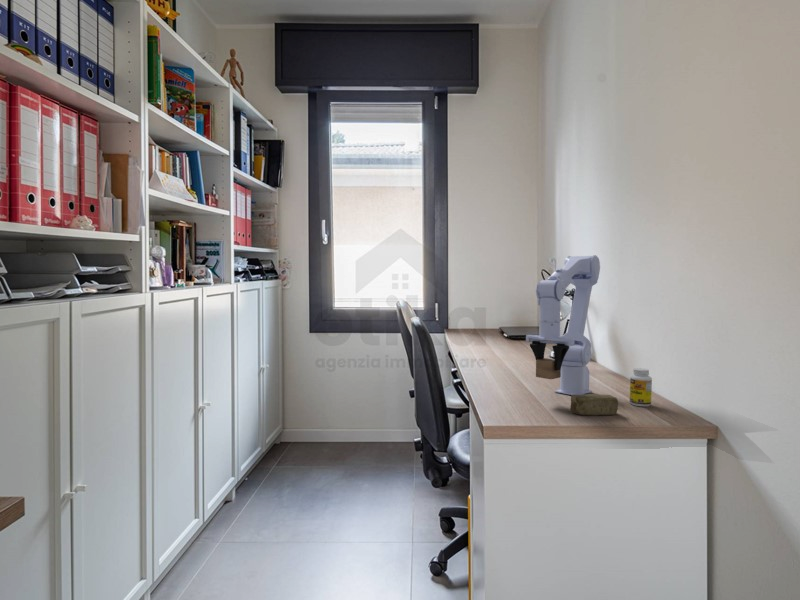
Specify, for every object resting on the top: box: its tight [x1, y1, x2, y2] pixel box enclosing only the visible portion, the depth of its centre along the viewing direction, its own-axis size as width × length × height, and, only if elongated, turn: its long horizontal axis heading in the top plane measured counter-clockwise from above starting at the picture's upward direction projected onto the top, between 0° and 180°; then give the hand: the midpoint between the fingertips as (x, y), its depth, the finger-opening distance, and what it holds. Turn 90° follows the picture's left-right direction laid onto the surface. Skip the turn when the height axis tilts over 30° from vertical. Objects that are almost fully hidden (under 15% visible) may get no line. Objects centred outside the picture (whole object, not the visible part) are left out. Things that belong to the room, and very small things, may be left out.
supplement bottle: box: [629, 367, 653, 408], centre depth 145 cm, size 6×6×10 cm
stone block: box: [569, 393, 619, 416], centre depth 136 cm, size 6×12×5 cm, turn 91°
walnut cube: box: [535, 357, 561, 380], centre depth 147 cm, size 5×5×5 cm
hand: (548, 368), depth 147 cm, fingers closed on walnut cube, 5 cm apart
